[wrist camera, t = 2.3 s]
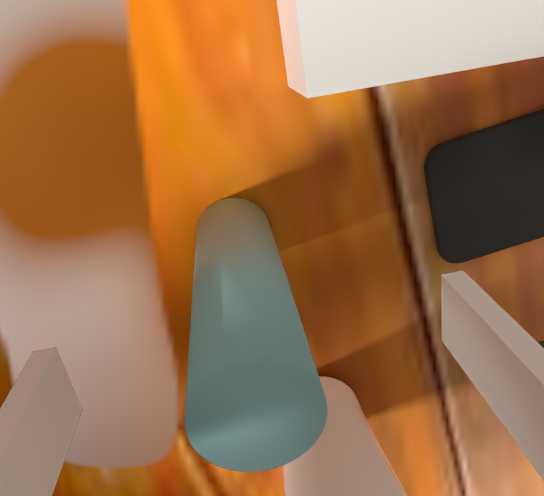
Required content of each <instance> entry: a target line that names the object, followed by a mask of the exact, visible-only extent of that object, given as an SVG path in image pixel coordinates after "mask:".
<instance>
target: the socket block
mask: <svg viewBox="0 0 544 496" xmlns="http://www.w3.org/2000/svg"><path fill="white" fill-rule="evenodd" d="M277 6H278V14H279V21H280V29H281V36H282V44H283V51H284V58H285V66H286V73H287V81H288V86H289V87H290V88H292V89H293V90H295V91H296V92H298V93H300V94H301V95H303V96H304V97H306V98H312V97H318V96H323V95H329V94H335V93H340V92H346V91H352V90H357V89H363V88H368V87H374V86H380V85H385V84H391V83H396V82H402V81H408V80H413V79H419V78H425V77H430V76H436V75H441V74H447V73H453V72H458V71H464V70H470V69H475V68H481V67H486V66H492V65H498V64H503V63H509V62H515V61H520V60H526V59H531V58H537V57H543V56H544V0H277Z"/></svg>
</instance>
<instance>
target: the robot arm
mask: <svg viewBox="0 0 544 496" xmlns="http://www.w3.org/2000/svg"><path fill="white" fill-rule="evenodd" d="M441 307H442V342H443V343H444V345H445V346H446V347H447V349H448V350H449V351H450V353H451V354H452V356H453V357H454V358H455V360H456V361H457V362H458V364H459V365H460V367H461V368H462V369H463V371H464V372H465V373H466V375H467V376H468V378H469V379H470V380H471V382H472V383H473V384H474V386H475V387H476V388H477V390H478V391H479V393H480V394H481V395H482V397H483V398H484V399H485V401H486V402H487V404H488V405H489V406H490V408H491V409H492V410H493V412H494V413H495V415H496V416H497V417H498V419H499V420H500V421H501V423H502V424H503V426H504V427H505V428H506V430H507V431H508V432H509V434H510V435H511V437H512V438H513V439H514V441H515V442H516V443H517V445H518V446H519V448H520V449H521V450H522V452H523V453H524V454H525V456H526V457H527V458H528V460H529V461H530V463H531V464H532V465H533V467H534V468H535V469H536V471H537V472H538V474H539V475H540V476H541V478H542V479H543V480H544V341H541V342H537V341H536V340H535V339H534V338H532V337H531V336H530V335H529V334H528V333H527V332H526V331H525V330H524V329H523V328H522V327H521V326H520V325H519V324H518V323H517V322H516V321H515V320H514V319H513V318H512V317H511V316H510V315H509V314H508V313H507V312H506V311H505V310H504V309H503V308H501V307H500V306H499V305H498V304H497V303H496V302H495V301H494V300H493V299H492V298H491V297H490V296H489V295H488V294H487V293H486V292H485V291H484V290H483V289H482V288H481V287H480V286H479V285H478V284H477V283H476V282H475V281H474V280H473V279H472V278H470V277H469V276H468V275H467V274H466V273H465V272H464V271H457V272H452V273H447V274H442V275H441ZM81 412H82V408H81V406H80V404H79V401H78V399H77V397H76V394H75V392H74V389H73V387H72V385H71V382H70V380H69V377H68V375H67V373H66V370H65V368H64V365H63V363H62V361H61V358H60V356H59V354H58V351H57V349H56V347H55V348H50V349H45V350H39V351H34V352H32V354H31V356H30V358H29V359H28V361H27V363H26V364H25V366H24V368H23V370H22V371H21V373H20V375H19V377H18V378H17V380H16V382H15V384H14V385H13V387H12V389H11V391H10V392H9V394H8V396H7V398H6V399H5V401H4V403H3V405H2V406H1V408H0V496H52V494H53V491H54V489H55V486H56V483H57V480H58V477H59V475H60V472H61V469H62V466H63V463H64V460H65V458H66V455H67V452H68V449H69V446H70V443H71V441H72V438H73V435H74V432H75V429H76V426H77V424H78V421H79V418H80V415H81Z"/></svg>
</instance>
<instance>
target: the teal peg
mask: <svg viewBox="0 0 544 496" xmlns="http://www.w3.org/2000/svg"><path fill="white" fill-rule="evenodd" d="M327 413H328V408H327V401H326V397H325V394H324V390H323V387H322V384H321V381H320V378H319V375H318V372H317V369H316V366H315V363H314V360H313V356H312V353H311V350H310V347H309V344H308V341H307V338H306V335H305V332H304V329H303V325H302V322H301V319H300V316H299V313H298V310H297V307H296V304H295V301H294V298H293V294H292V291H291V288H290V285H289V282H288V279H287V276H286V273H285V270H284V267H283V263H282V260H281V257H280V254H279V251H278V248H277V245H276V242H275V239H274V236H273V232H272V229H271V226H270V223H269V220H268V218H267V216H266V214H265V213H264V211H263V210H262V209H261V208H260V207H259V206H258V205H256V204H255V203H253V202H251V201H249V200H247V199H243V198H225V199H222V200H219V201H217V202H215V203H213V204H212V205H210V206H209V207H208V208H207V209H206V210H205V211H204V212H203V214H202V215H201V217H200V219H199V221H198V225H197V231H196V247H195V262H194V277H193V293H192V308H191V323H190V339H189V354H188V370H187V385H186V400H185V416H184V425H185V431H186V435H187V437H188V440H189V442H190V443H191V445H192V447H193V448H194V449H195V450H196V451H197V453H199V454H200V455H201V456H202V457H203V458H205V459H206V460H208V461H209V462H211V463H213V464H215V465H217V466H219V467H222V468H225V469H229V470H233V471H241V472H256V471H264V470H270V469H274V468H277V467H280V466H283V465H285V464H287V463H290V462H292V461H294V460H295V459H297V458H298V457H300V456H301V455H303V454H304V453H305V452H307V451H308V450H309V449H310V448H311V447H312V446H313V445H314V443H315V442H316V441H317V440H318V438H319V437H320V435H321V433H322V431H323V429H324V427H325V424H326V420H327Z"/></svg>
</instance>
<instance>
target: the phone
mask: <svg viewBox="0 0 544 496" xmlns="http://www.w3.org/2000/svg"><path fill="white" fill-rule="evenodd" d="M424 170H425V177H426V183H427V190H428V196H429V202H430V208H431V214H432V220H433V226H434V232H435V237H436V243H437V248H438V252H439V254H440V255H441V257H442V258H443V259H445V260H446V261H447V262H450V263H461V262H465V261H468V260H471V259H475V258H478V257H481V256H484V255H487V254H490V253H494V252H497V251H500V250H503V249H506V248H509V247H512V246H516V245H519V244H522V243H525V242H528V241H531V240H535V239H538V238H541V237H544V109H543V110H540V111H537V112H534V113H531V114H528V115H525V116H522V117H519V118H516V119H513V120H510V121H506V122H503V123H500V124H497V125H494V126H491V127H488V128H485V129H482V130H479V131H476V132H473V133H470V134H467V135H464V136H461V137H458V138H454V139H451V140H449V141H446V142H443V143H441V144H439V145H437V146H435V147H434V148H433V149H432V150H431V151H430V152H429V153H428V155H427V157H426V160H425V166H424Z"/></svg>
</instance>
